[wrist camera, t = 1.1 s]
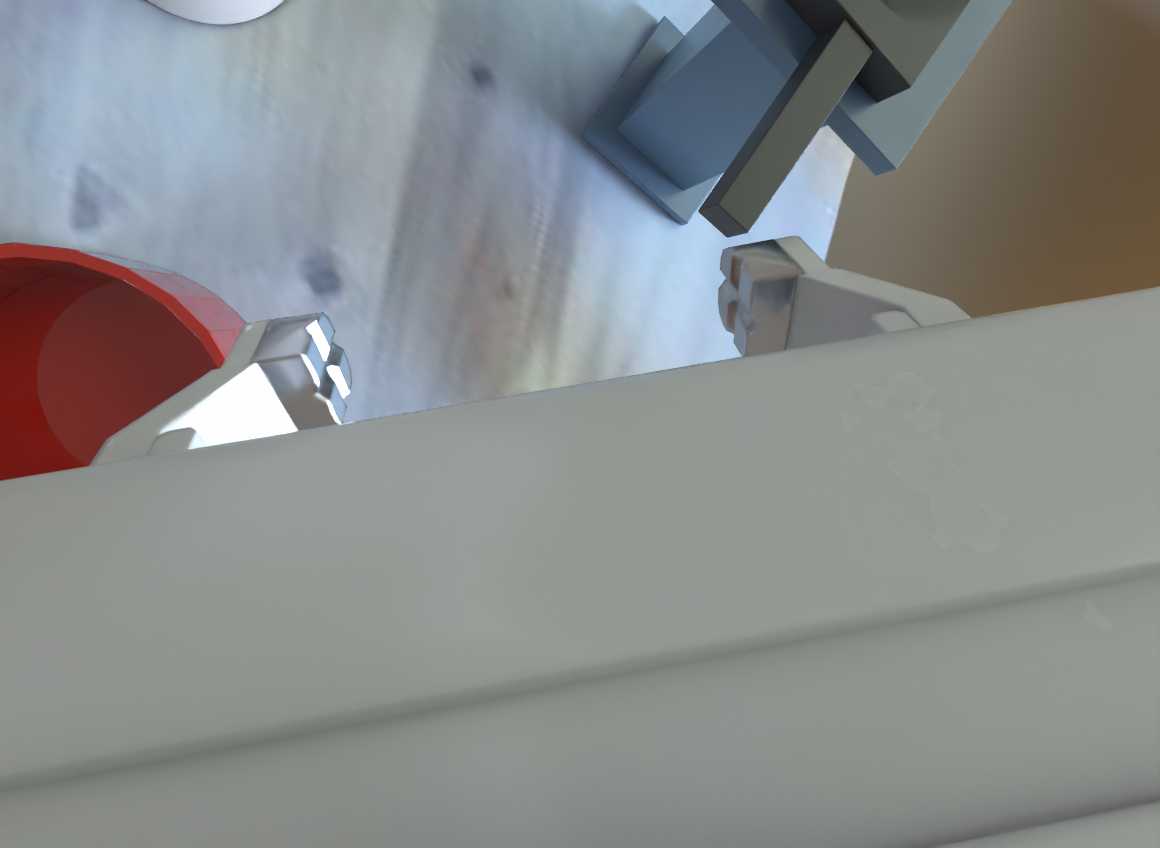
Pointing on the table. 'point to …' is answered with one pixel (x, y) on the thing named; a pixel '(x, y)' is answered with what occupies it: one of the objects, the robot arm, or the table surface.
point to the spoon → (828, 90)
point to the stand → (754, 97)
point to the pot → (94, 350)
